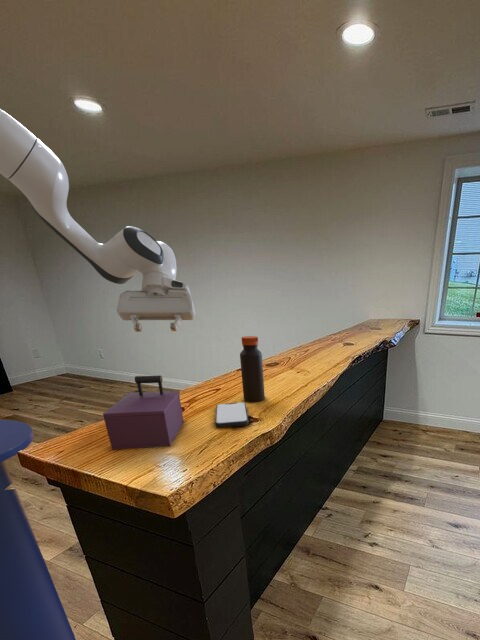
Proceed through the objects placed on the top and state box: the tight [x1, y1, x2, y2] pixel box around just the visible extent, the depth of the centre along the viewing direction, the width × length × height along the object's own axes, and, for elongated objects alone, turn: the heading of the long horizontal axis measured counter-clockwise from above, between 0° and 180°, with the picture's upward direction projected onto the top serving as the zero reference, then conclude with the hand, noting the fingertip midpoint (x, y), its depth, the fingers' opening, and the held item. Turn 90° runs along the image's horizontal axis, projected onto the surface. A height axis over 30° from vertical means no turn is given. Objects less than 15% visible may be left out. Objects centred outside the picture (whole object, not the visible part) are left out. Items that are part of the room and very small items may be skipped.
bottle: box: [239, 335, 266, 403], centre depth 110 cm, size 7×7×20 cm
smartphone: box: [214, 402, 250, 429], centre depth 99 cm, size 9×2×16 cm
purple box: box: [103, 394, 185, 450], centre depth 85 cm, size 16×13×8 cm
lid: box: [102, 375, 181, 418], centre depth 83 cm, size 16×13×6 cm
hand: (155, 330), depth 96 cm, fingers open, 8 cm apart
